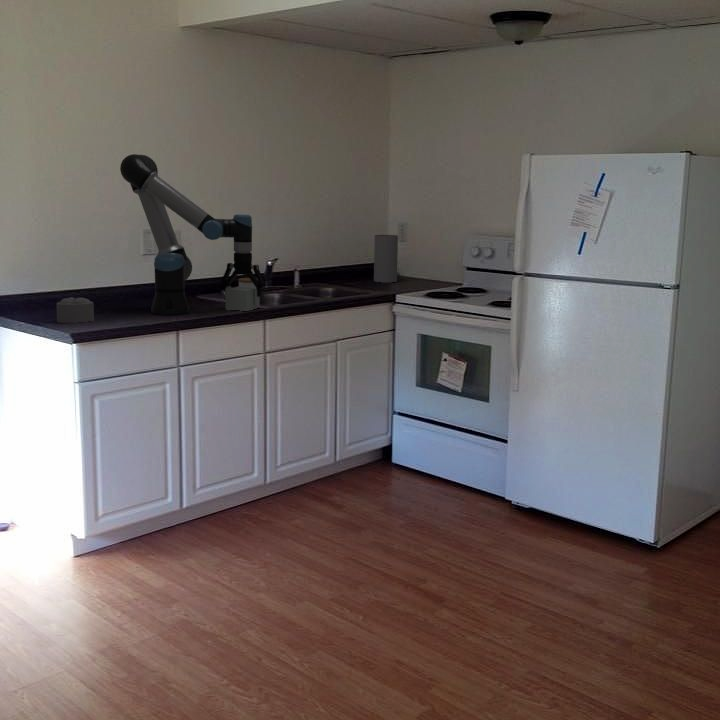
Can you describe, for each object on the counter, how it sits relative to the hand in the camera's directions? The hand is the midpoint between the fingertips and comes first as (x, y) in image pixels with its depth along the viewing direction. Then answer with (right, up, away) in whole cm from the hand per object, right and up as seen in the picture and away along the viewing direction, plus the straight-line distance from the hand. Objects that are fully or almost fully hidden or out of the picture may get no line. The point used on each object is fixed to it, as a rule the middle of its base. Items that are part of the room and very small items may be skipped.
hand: (242, 303), depth 377 cm
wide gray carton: (0, -3, -1) cm, 3 cm away
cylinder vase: (+63, +18, +111) cm, 129 cm away
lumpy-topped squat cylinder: (-59, -9, -38) cm, 70 cm away
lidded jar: (-3, +6, +45) cm, 46 cm away
